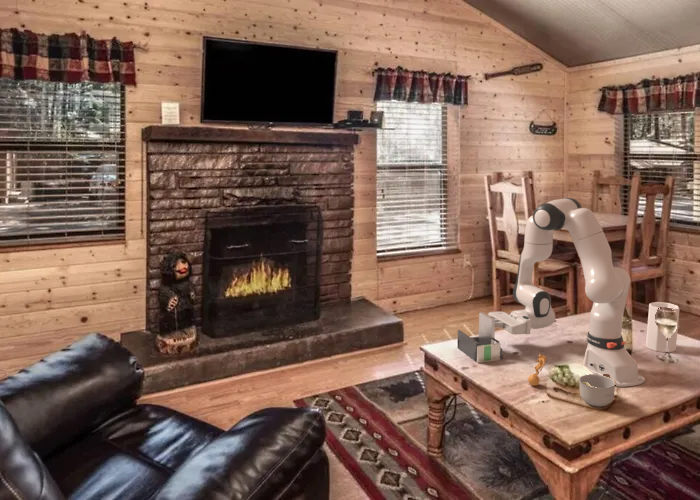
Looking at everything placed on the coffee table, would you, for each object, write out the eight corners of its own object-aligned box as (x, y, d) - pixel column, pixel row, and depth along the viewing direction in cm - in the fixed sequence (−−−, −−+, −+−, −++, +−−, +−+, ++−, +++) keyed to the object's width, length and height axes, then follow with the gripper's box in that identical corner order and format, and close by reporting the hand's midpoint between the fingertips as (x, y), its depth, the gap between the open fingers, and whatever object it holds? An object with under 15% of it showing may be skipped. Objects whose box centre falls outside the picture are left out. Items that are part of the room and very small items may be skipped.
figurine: (526, 380, 193) (527, 349, 190) (543, 380, 192) (544, 350, 189) (529, 390, 185) (531, 358, 182) (547, 391, 184) (549, 359, 181)
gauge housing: (504, 359, 212) (505, 340, 210) (478, 363, 208) (478, 344, 207) (482, 344, 228) (482, 327, 227) (457, 347, 225) (457, 330, 224)
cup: (650, 341, 227) (654, 300, 224) (679, 347, 219) (683, 305, 216) (641, 348, 220) (644, 306, 216) (670, 355, 212) (675, 311, 208)
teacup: (611, 413, 167) (612, 390, 166) (575, 405, 173) (576, 382, 172) (616, 395, 179) (618, 374, 177) (582, 388, 185) (583, 367, 183)
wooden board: (499, 355, 211) (500, 322, 208) (496, 355, 211) (497, 322, 208) (481, 343, 225) (482, 312, 222) (478, 343, 224) (479, 312, 222)
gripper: (505, 306, 231) (477, 310, 228) (532, 320, 212) (502, 324, 208) (504, 320, 232) (477, 323, 229) (532, 335, 213) (502, 339, 209)
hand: (489, 324), depth 218 cm, fingers closed
